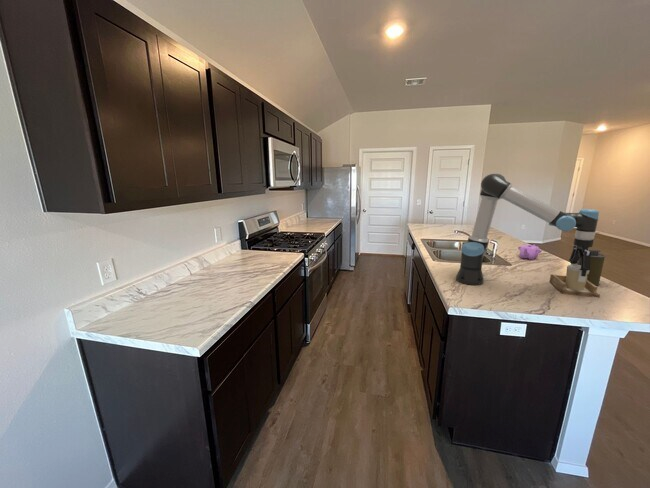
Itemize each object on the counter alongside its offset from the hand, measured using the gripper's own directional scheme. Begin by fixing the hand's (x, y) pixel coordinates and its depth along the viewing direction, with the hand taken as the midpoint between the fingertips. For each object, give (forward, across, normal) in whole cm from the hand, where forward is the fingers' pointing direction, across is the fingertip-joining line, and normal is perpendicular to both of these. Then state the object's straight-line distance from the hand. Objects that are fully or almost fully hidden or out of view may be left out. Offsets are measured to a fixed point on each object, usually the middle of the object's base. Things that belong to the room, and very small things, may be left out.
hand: (576, 278), depth 151 cm
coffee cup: (+6, 0, 0) cm, 6 cm away
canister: (+8, +17, -12) cm, 22 cm away
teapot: (+8, +66, +5) cm, 67 cm away
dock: (+7, +2, 0) cm, 8 cm away
